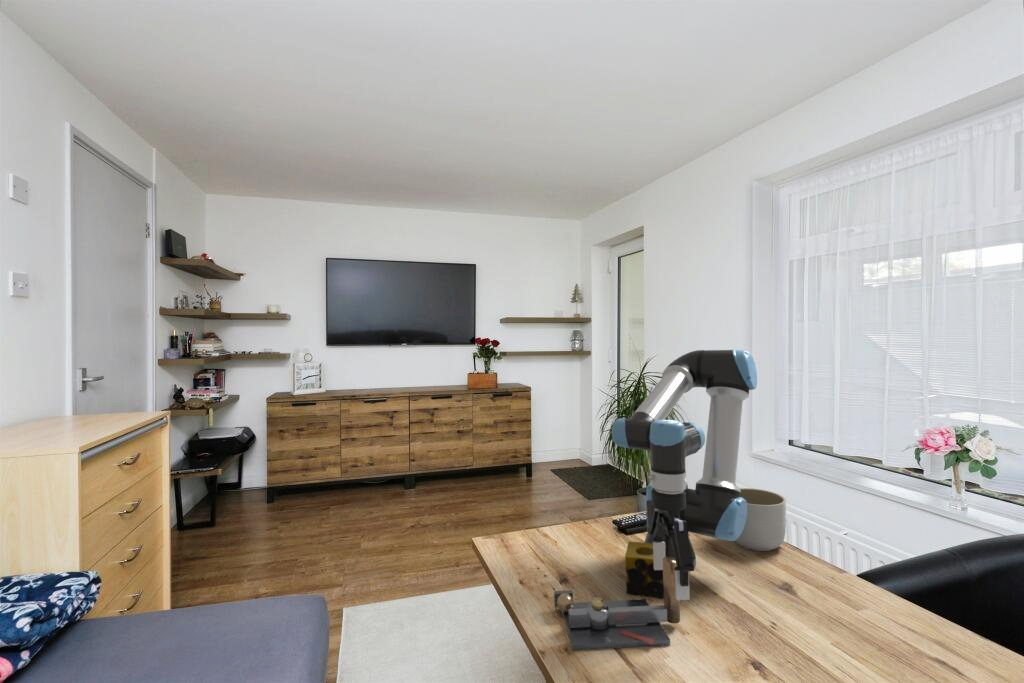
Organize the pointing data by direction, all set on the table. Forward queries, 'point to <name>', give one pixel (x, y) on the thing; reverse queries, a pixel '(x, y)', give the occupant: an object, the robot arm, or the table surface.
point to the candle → (643, 571)
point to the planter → (763, 520)
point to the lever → (633, 608)
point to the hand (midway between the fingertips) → (670, 583)
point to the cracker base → (613, 633)
